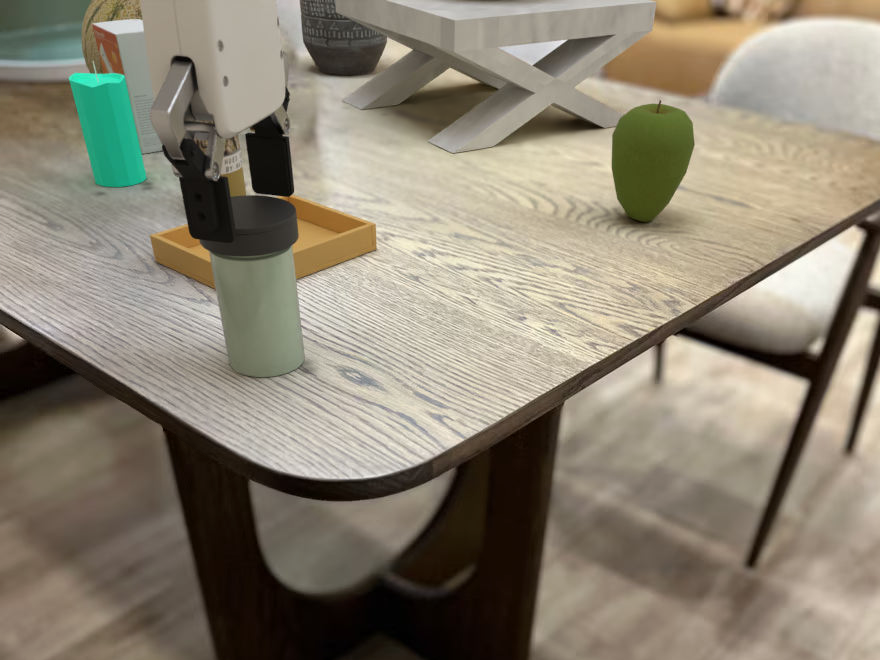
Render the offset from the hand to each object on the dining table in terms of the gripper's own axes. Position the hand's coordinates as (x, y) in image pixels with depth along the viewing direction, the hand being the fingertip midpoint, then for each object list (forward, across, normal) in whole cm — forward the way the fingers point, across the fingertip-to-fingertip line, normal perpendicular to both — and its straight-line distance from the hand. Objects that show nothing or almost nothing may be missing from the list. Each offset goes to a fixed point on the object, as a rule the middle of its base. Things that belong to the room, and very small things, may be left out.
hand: (245, 215), depth 60 cm
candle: (+11, -37, -35) cm, 52 cm away
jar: (+11, 0, 0) cm, 11 cm away
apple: (+11, -42, +26) cm, 50 cm away
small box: (+11, -51, -39) cm, 65 cm away
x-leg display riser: (+11, -82, -1) cm, 83 cm away
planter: (+11, -102, -31) cm, 107 cm away
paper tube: (+11, -31, -20) cm, 39 cm away
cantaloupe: (+11, -67, -49) cm, 84 cm away
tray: (+11, -20, -9) cm, 25 cm away
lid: (0, 0, 0) cm, 0 cm away
